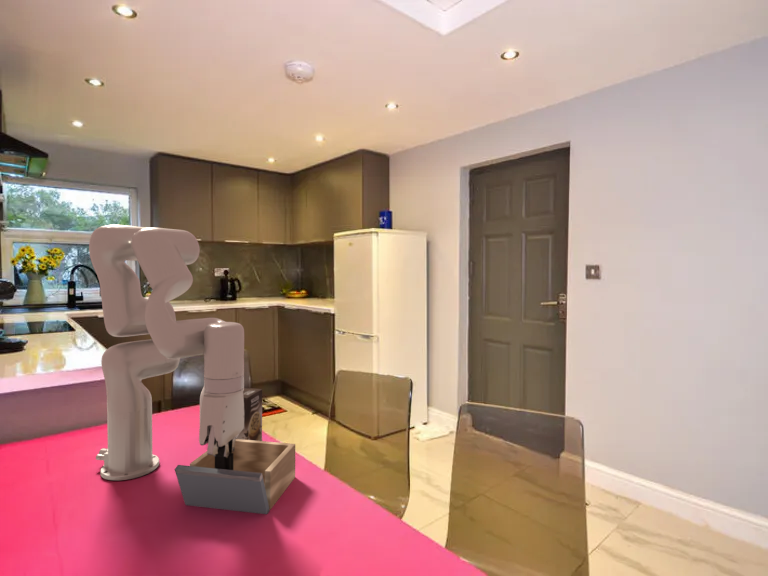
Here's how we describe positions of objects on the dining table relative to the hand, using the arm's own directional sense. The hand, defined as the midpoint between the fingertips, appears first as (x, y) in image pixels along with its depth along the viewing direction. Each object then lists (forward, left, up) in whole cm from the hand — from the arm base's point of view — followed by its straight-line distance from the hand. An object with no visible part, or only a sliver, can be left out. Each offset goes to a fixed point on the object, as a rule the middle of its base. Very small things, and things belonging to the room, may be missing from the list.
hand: (224, 473), depth 87 cm
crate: (0, +9, -9) cm, 13 cm away
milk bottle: (-25, +38, -9) cm, 46 cm away
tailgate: (0, +1, -8) cm, 8 cm away
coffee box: (-11, +30, -9) cm, 33 cm away
